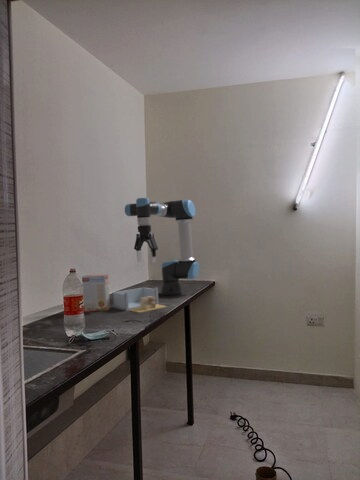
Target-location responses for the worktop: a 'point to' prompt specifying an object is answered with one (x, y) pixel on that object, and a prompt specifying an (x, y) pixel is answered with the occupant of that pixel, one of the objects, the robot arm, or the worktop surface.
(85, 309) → the cracker box
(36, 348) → the worktop surface
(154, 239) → the robot arm
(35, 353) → the worktop surface
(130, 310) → the panel
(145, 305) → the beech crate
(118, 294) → the pale blue open box
